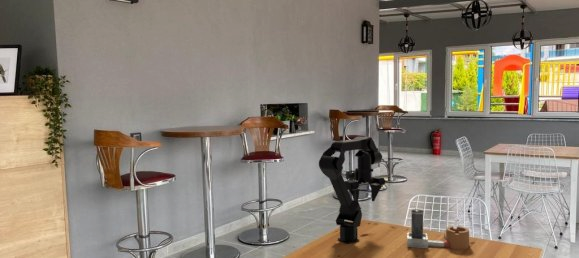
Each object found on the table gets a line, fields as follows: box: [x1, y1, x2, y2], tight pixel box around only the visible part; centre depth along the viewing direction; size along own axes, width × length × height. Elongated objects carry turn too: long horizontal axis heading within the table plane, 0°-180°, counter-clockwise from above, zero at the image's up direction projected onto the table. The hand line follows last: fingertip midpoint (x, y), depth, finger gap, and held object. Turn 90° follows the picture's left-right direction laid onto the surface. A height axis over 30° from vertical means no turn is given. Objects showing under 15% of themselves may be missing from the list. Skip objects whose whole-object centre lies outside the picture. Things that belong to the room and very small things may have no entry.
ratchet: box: [406, 232, 451, 249], centre depth 176 cm, size 8×18×3 cm, turn 76°
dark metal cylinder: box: [410, 208, 424, 239], centre depth 177 cm, size 4×4×11 cm
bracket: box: [443, 225, 470, 250], centre depth 180 cm, size 18×8×7 cm, turn 165°
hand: (364, 202), depth 192 cm, fingers open, 9 cm apart
